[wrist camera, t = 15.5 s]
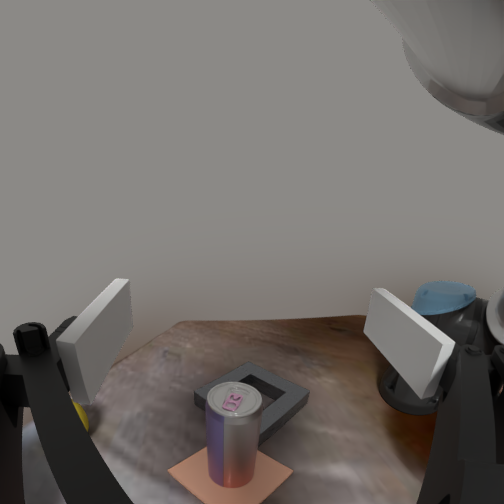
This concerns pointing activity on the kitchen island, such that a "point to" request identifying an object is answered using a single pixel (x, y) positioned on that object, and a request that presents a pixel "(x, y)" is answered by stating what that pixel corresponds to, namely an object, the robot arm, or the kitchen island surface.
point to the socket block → (267, 383)
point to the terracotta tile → (230, 499)
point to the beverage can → (232, 432)
